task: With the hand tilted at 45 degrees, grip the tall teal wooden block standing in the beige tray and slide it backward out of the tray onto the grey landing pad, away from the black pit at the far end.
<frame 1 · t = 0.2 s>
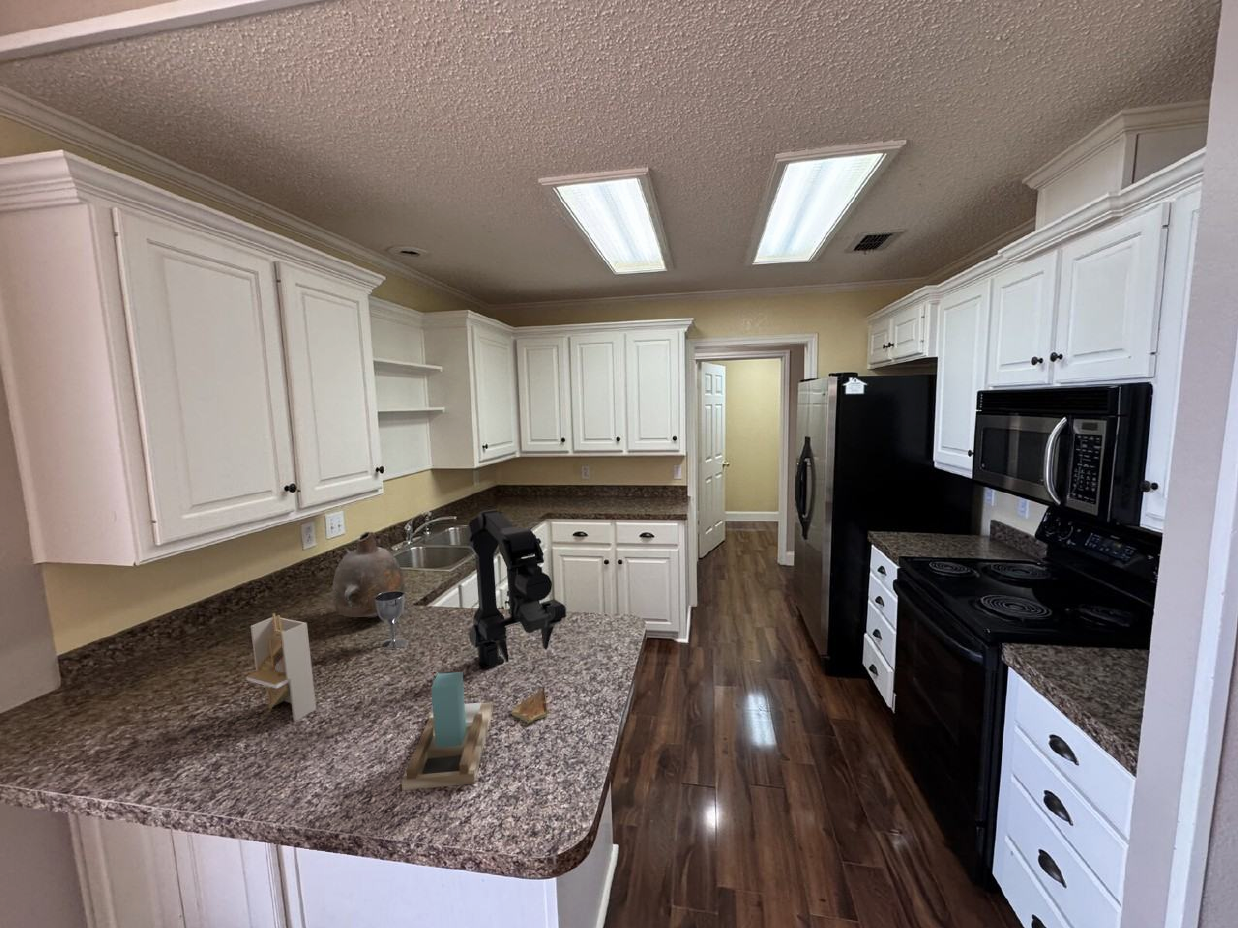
hand: (526, 655, 109), 14 cm above the worktop, tool pointing down, fingers open, 9 cm apart
wine glass: (393, 644, 146), on the worktop
tall block: (451, 738, 101), point 2 cm above the worktop, touching beige tray
shard: (529, 710, 113), on the worktop
jug: (372, 618, 164), on the worktop
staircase: (288, 712, 115), on the worktop
beige tray: (456, 735, 104), on the worktop
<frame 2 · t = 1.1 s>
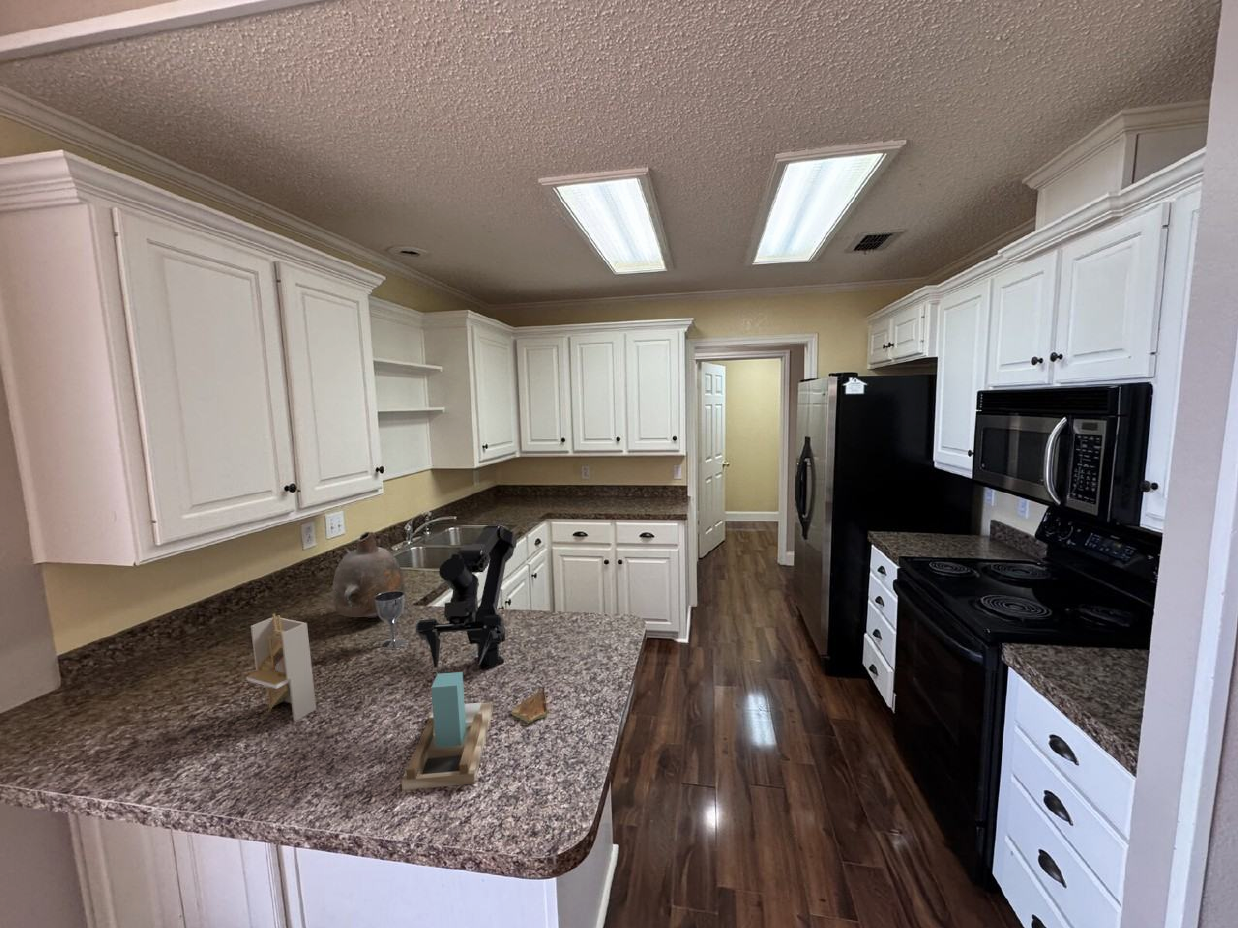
hand: (457, 665, 107), 13 cm above the worktop, tool tilted 45°, fingers open, 9 cm apart
nothing on the worktop moved.
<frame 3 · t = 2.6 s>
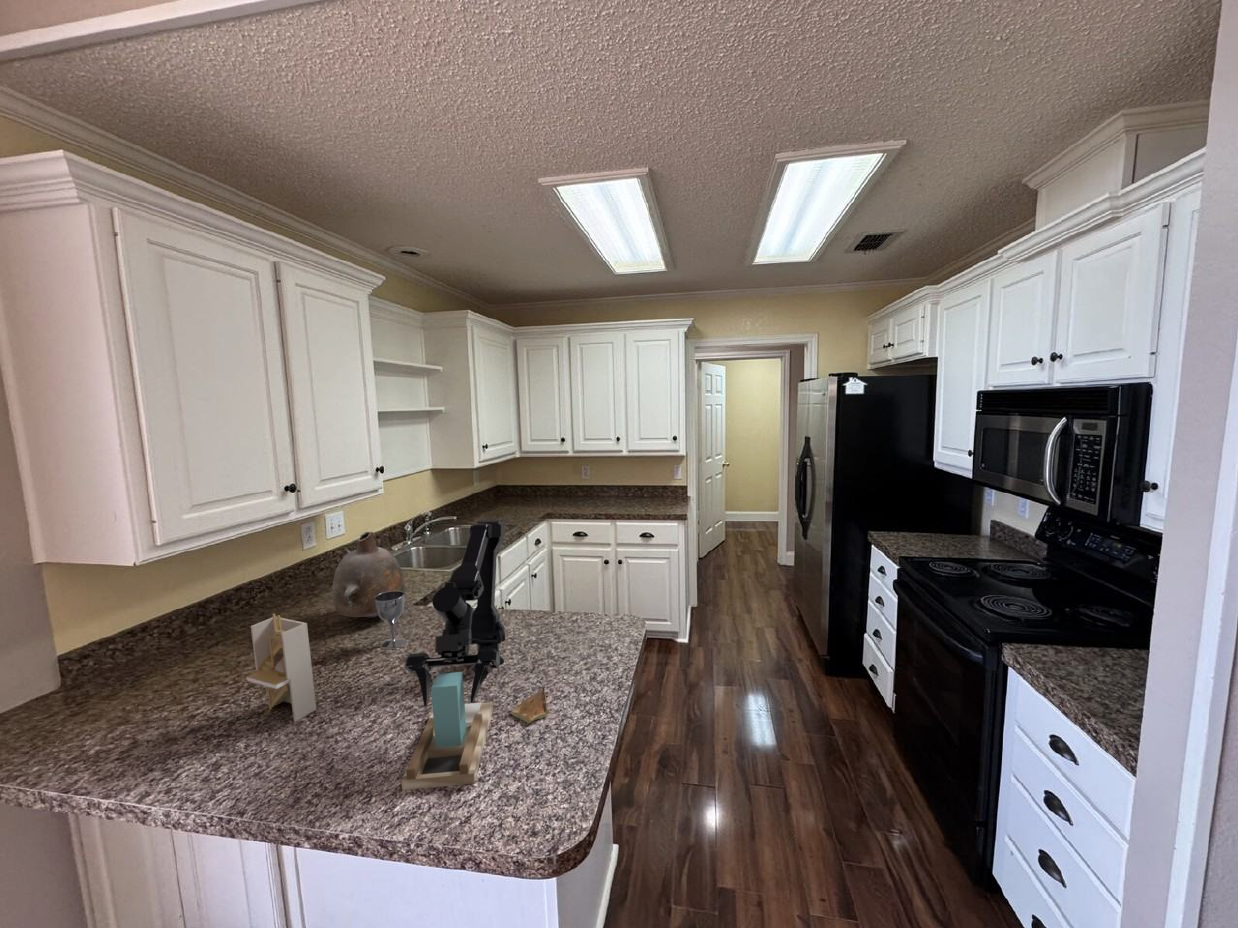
hand: (448, 704, 100), 10 cm above the worktop, tool tilted 45°, fingers open, 9 cm apart
nothing on the worktop moved.
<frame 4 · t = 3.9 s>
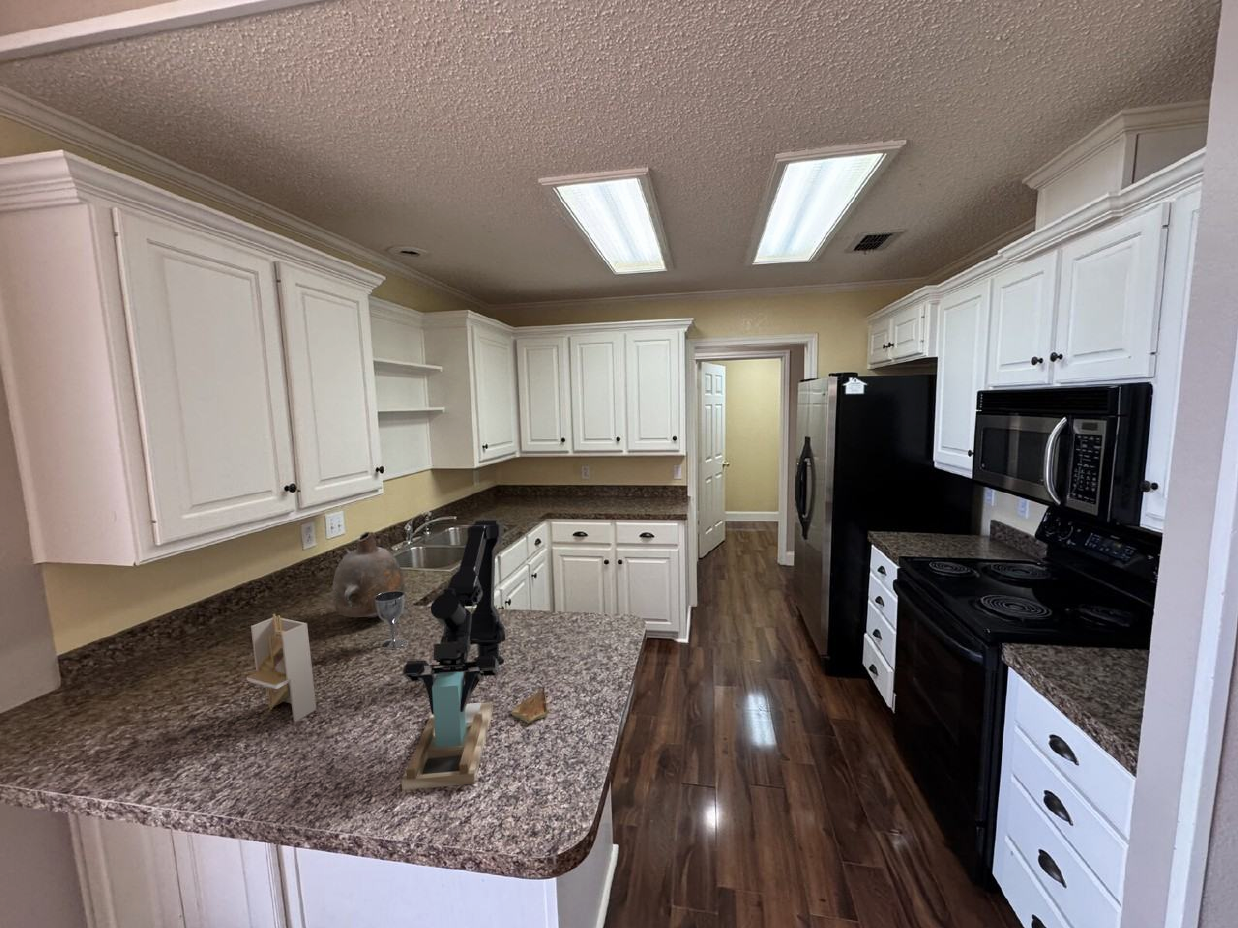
hand: (447, 712, 98), 9 cm above the worktop, tool tilted 45°, fingers closed on tall block, 5 cm apart
tall block: (451, 738, 101), point 2 cm above the worktop, touching gripper, beige tray
everything else where it was.
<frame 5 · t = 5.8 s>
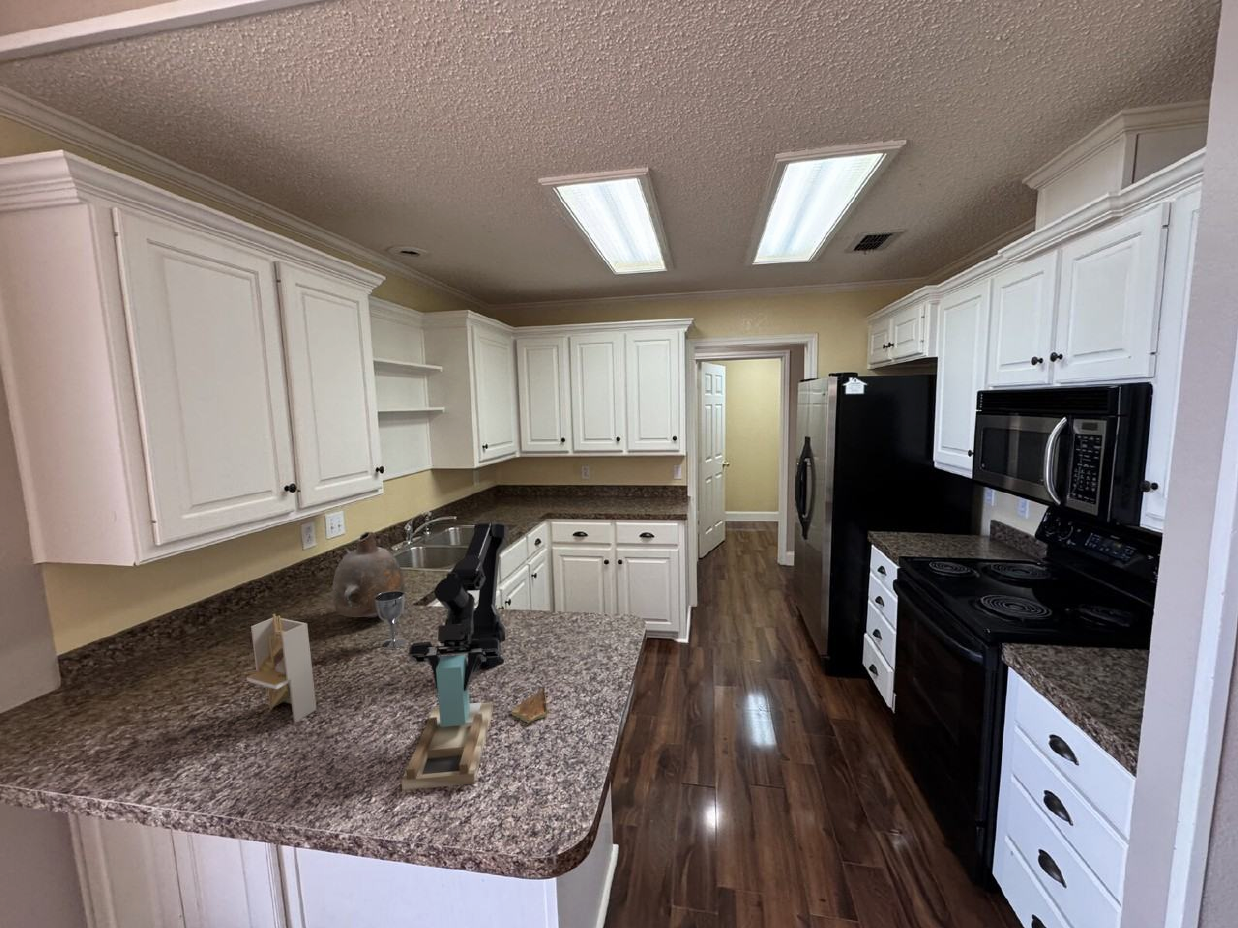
hand: (451, 691, 102), 11 cm above the worktop, tool tilted 45°, fingers closed on tall block, 5 cm apart
tall block: (455, 717, 104), point 4 cm above the worktop, touching gripper
everything else where it was.
when the fingers open (10 cm above the worktop, at t = 7.7 s): tall block stays where it is, resting on beige tray.
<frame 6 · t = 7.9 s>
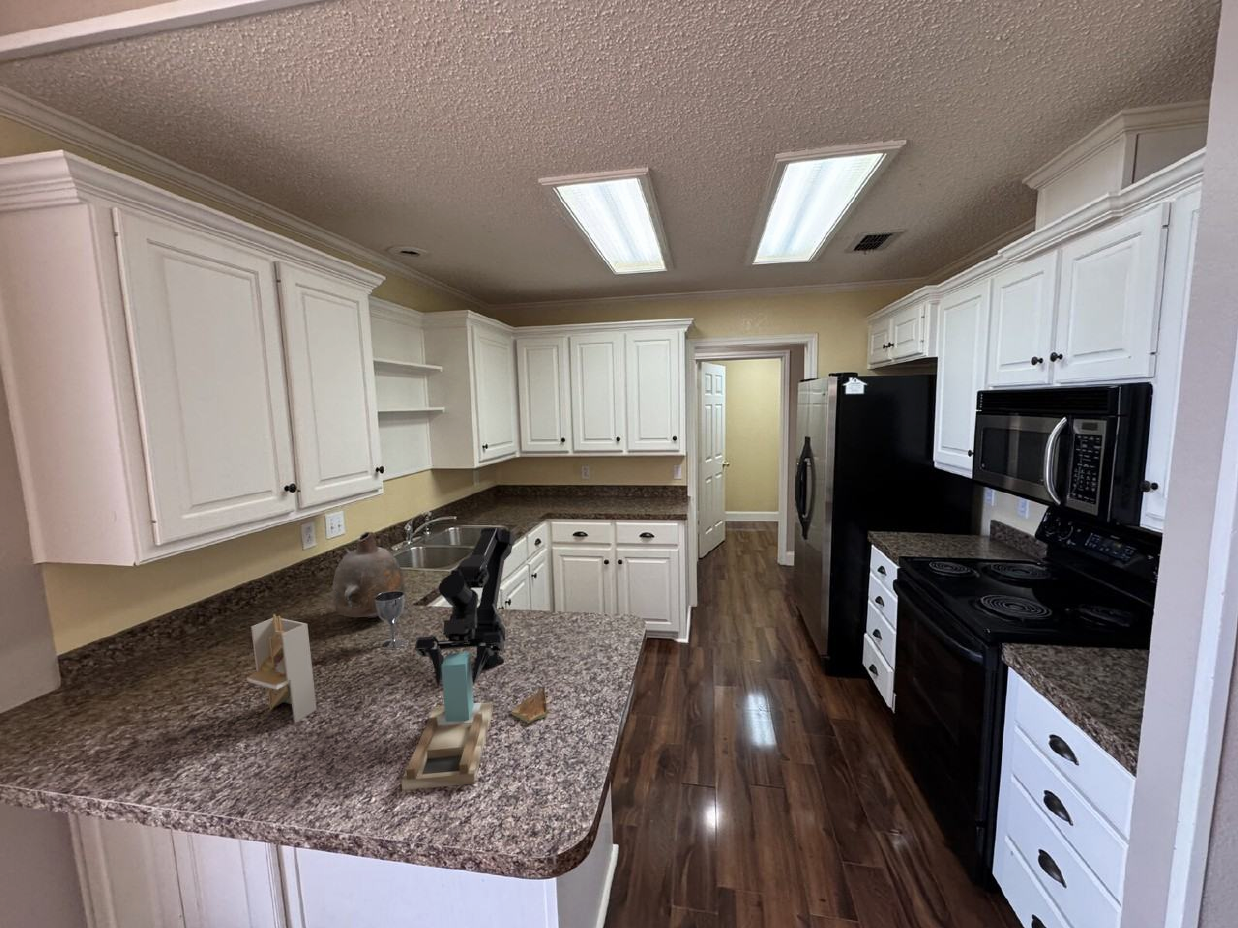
hand: (456, 684, 106), 10 cm above the worktop, tool tilted 45°, fingers open, 7 cm apart
tall block: (460, 713, 108), point 2 cm above the worktop, touching beige tray
everything else where it was.
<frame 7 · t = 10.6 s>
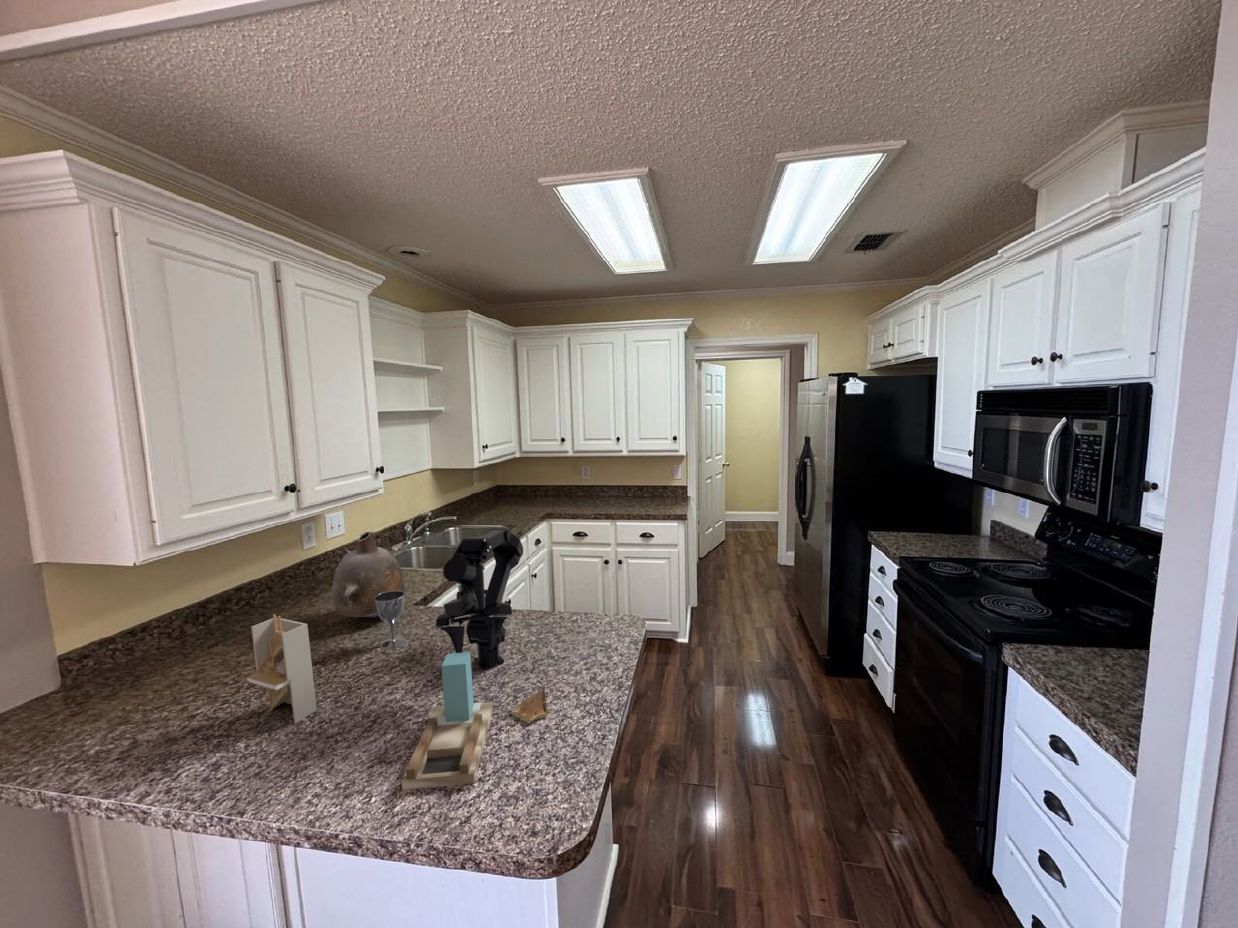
hand: (475, 652, 117), 11 cm above the worktop, tool tilted 30°, fingers open, 9 cm apart
nothing on the worktop moved.
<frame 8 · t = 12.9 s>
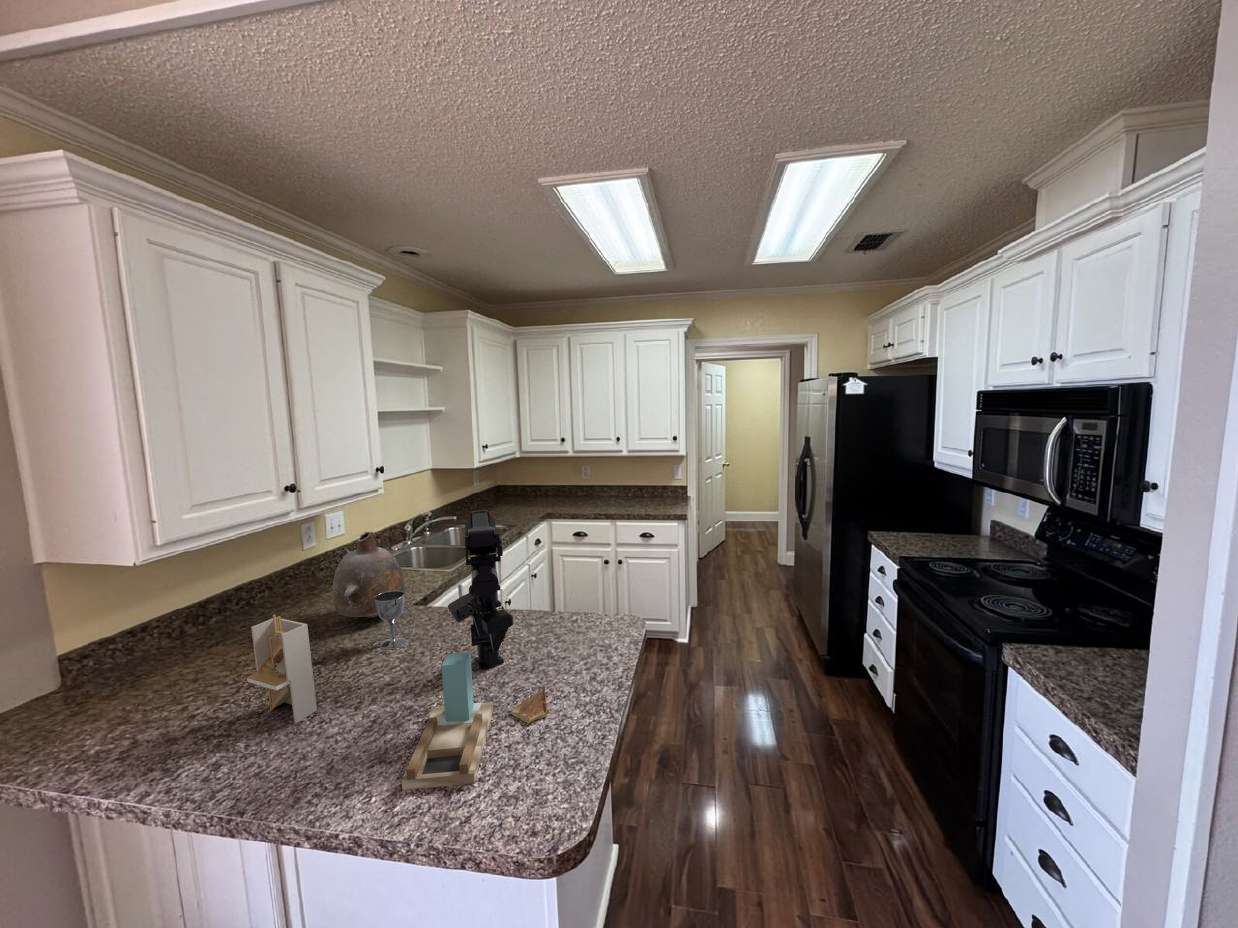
hand: (488, 643, 117), 13 cm above the worktop, tool pointing down, fingers open, 9 cm apart
nothing on the worktop moved.
at the end: tall block 0.1 cm from the target spot, point 2.1 cm above the worktop; tall block tilted 0°; the gripper is holding nothing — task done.
